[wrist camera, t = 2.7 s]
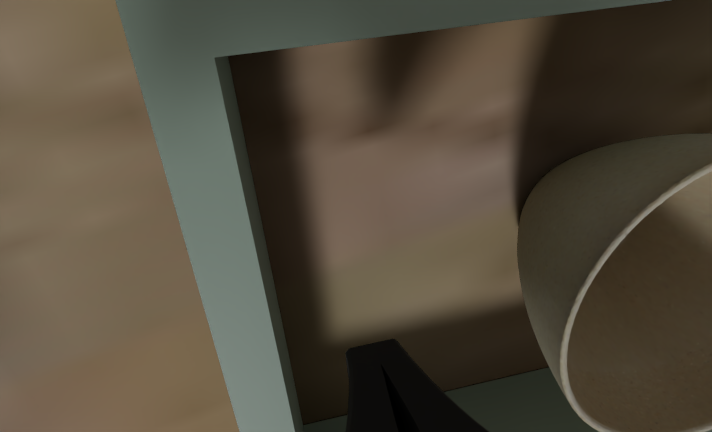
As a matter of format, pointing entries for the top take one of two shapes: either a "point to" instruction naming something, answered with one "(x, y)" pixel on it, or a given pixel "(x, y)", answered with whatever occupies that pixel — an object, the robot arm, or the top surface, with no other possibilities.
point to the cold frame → (237, 192)
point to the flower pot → (625, 282)
